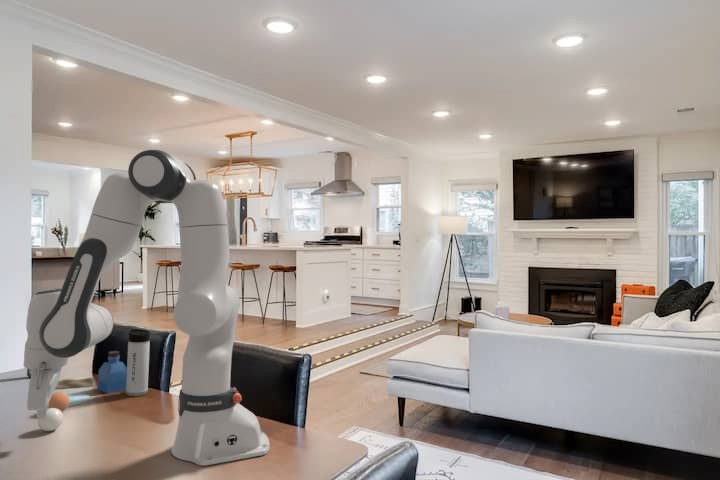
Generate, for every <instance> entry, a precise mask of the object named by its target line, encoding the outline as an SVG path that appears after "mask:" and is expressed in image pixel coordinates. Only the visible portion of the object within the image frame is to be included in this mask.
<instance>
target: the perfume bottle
mask: <svg viewBox="0 0 720 480" xmlns="http://www.w3.org/2000/svg"><path fill="white" fill-rule="evenodd" d="M120 358H121V355H120V351H118V350H113V351H112V350H111V351H108V356H107V360H108V361H107V362H106V361H105V362H103V363H102V365H101V367H99V369H98V371H97V372H98V373H97V374H98V376H97V379H98V380H97V390H98V391H101V392H103V393H106V394H113V393H115V392H120V391H124V390H125V391H126V381H127V365H125V363H124V362H123V361H120Z"/></svg>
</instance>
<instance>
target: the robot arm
mask: <svg viewBox="0 0 720 480" xmlns="http://www.w3.org/2000/svg"><path fill="white" fill-rule="evenodd" d="M127 171H128V173H127V172H126V173H125V172H116V173H112V174H110V175H108V176H107V177H106V179H104V181H103V184H102V185H101V188H100V189H99V192H98V194H97V196H96V199H95V201H94V204H93V207H92V211H91V214H90V215H89V216H90V217H89V220H88V224H87V226H86V230H85V233H84V234H83V235H84V236H83V238H82V240H81V242H80V243H79V246H78V248H77V250H76V252H75V255H74V257H73V259H72V261H71V264H70V267H69V269H68V272H67V274H66V277H65V279H64V282H63V284H62V287H61V288H55V289H49V290H42V291H38V292H35V294H33V295H32V296H31V298H30V301H29V304H28V309H27V316H26V324H25V325H26V327H25V328H26V331H27V338H26V341H25V344H24V351H23V352H24V355H23V367H24V368H25V369H27V368H28V369H30V372H29V373H30V374H32V375H31V378H29V385H28V391H27V401H26V403H27V404H26V406H27V410H29V411H37V412H36V418H37V420H38V419H43V418H45V417H46V415H47V413H48V406H49V401H50V399H51V397H52V395H53V394H54V393H55V390H57V389H56V387H57V385H58V382H59V379H61V373H62V368H63V367H65V366H67V365H68V362H69V358H73V357H74V356H76V355H78V354H79V353H81V352H82V351H84V350H85V349H89V348H90V347H92V346H95V345H97V344H98V343H101V342H104V340H105V339H107V338H108V337H109V336H110V335H111V334H112V331H113V329H114V317H113V315H112V313H111V312H110V310H109V309H107V308H106V307H105V306H103V305H99V304H96V303H92V301H93V298H94V295H95V293H96V290H97V287H98V285H99V282H100V280H101V277H102V276H103V274H104V273H105V271H107V269H108V268H109V267H111V265H112V264H114V263H115V262H117V261H118V260H120V259H121V258H123V257H124V256H126V255H128V254H129V253H130V252H131V251H132V250H133V248H134V246H135V244H136V242H137V240H138V238H139V236H140V232H141V228H142V224H143V220H144V218H145V214H146V211H147V209H148V208H149V206H150V205H152V204H153V203H155V204H173V205H174V206H175V208H176V210H177V215H178V227H179V229H178V231H179V246H180V247H179V248H180V271H179V272H180V273H179V279H178V280H179V281H178V289H177V290H178V291H177V299H176V301H175V302H176V303H175V304H174V307H173V314H172V316H173V320H174V323H175V325H176V327H177V328H178V329H179V331H180V332H182V333H184V334H185V335H189V336H188V340H187V345H186V347H185V350H184V354H183V357H182V369H181V370H182V372H181V375H182V376H181V388H180V390H179V394H178V402H177V403H178V404H177V405H178V406H177V411H178V416H179V417H178V422H177V423H178V424H177V429H176V435H175V438H174V441H173V444H172V447H171V454H172V455H173V456H174V457H175V458H177V459H179V460H183V461H186V462H192V463H194V464H196V465H198V466H203V467H204V466H209V465H210V466H211V465H216V464H221V463H226V462H233V461H237V460H243V459H249V458H254V457H258V456H259V457H260V456H264V455H266V454H267V453H268V452H269V450H270V439H269V437H268V435H267V434H266V433H264V432H263V431H262V430H261V425H260V422H259V420H258V417H257V416H256V415H255V414H254V413H253V411H250V410H249V409H247V408H246V407H244V405H242V404H240V403H241V402H242V398H243V397H242V395H241V393H240V392H239V390H238V389H237V388H236V387H234V386H233V387H232V386H231V375H232V374H231V371H232V357H233V348H234V342H235V337H236V332H237V331H236V330H237V323H238V316H239V310H240V306H241V305H240V303H241V302H240V301H241V300H240V297H239V294H238V292H237V291H236V289H234V287H232V286H230V285H228V283H227V281H228V270H229V269H228V268H229V263H230V259H231V255H230V253H231V252H230V243H229V241H230V240H229V228H228V227H229V226H228V217H227V209H226V205H225V201H224V197H223V193H222V190H221V188H220V187H219V185H217V184H216V183H215V182H213V181H210V180H206V179H197V178H196V177H197V176H196V174H195V172H194V170H193V169H192V168H191V167H190V166H189V165H188V164H187V163H185V162H183V161H182V160H181V159H180V158H179V157H177V156H175V155H173V154H170V153H167V152H166V151H163V150H159V149H147V150H143V151H141V152H138V153H137V154H136V155H135V156H134V157H133V158H132V159H131V161H130V163H129V165H128V169H127Z"/></svg>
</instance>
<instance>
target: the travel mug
mask: <svg viewBox="0 0 720 480" xmlns="http://www.w3.org/2000/svg"><path fill="white" fill-rule="evenodd" d="M150 337H151V332H150V331H149V330H146V329H138V328H131V329H130V330H129V331H128V341H127V342H128V343H127V360H126V361H127V363H126V364H127V365H126V368H127V381H126V389H125V395H126V396H129V397H140V396H141V397H142V396H145V395H147V393H148V392H149V371H150V370H149V368H150V366H149V365H150V346H151V345H150V344H151V343H150V341H151V339H150Z"/></svg>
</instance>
